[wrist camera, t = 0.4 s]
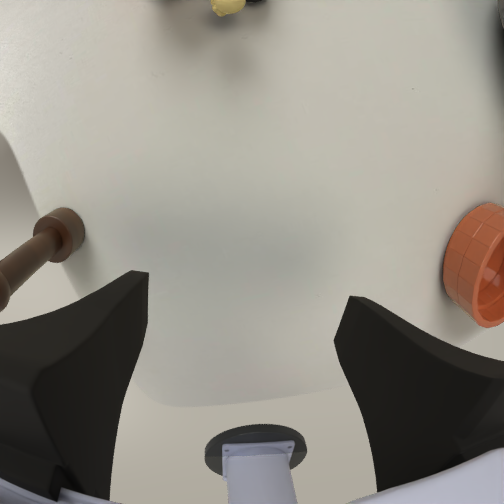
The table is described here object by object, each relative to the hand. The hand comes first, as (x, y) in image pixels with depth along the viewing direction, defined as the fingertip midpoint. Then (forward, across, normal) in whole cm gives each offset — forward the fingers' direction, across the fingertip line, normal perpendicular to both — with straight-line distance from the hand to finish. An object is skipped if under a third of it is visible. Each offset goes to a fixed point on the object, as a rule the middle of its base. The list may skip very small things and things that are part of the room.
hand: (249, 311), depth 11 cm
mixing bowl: (+9, -20, -1) cm, 22 cm away
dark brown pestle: (+9, +11, +1) cm, 14 cm away
